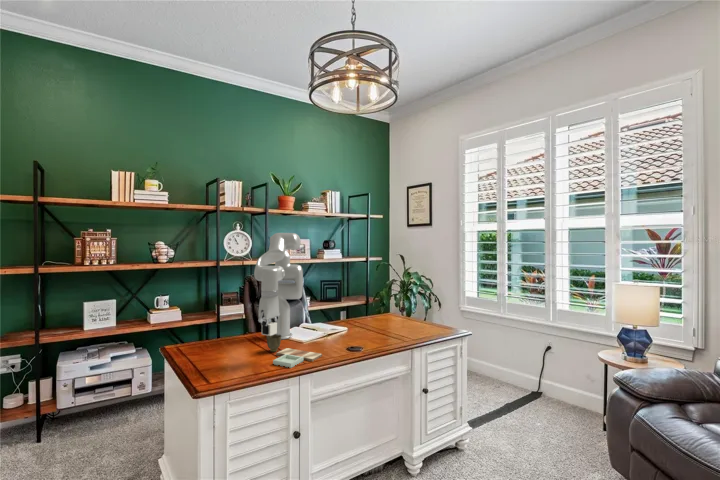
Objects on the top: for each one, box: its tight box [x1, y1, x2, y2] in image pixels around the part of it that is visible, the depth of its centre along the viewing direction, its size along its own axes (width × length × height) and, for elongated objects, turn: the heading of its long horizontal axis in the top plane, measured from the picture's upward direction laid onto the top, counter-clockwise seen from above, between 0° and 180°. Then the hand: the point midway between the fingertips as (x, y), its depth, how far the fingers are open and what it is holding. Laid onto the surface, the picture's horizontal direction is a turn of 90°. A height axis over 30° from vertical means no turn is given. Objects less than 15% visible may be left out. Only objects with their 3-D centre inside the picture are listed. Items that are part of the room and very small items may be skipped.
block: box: [261, 320, 277, 336], centre depth 174 cm, size 5×5×5 cm
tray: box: [272, 354, 305, 369], centre depth 172 cm, size 10×10×2 cm
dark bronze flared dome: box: [266, 334, 282, 353], centre depth 190 cm, size 8×7×8 cm
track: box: [275, 347, 323, 363], centre depth 183 cm, size 21×9×1 cm, turn 65°
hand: (269, 332), depth 174 cm, fingers closed on block, 4 cm apart
